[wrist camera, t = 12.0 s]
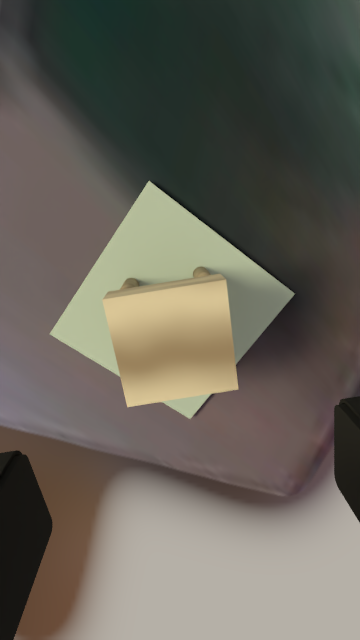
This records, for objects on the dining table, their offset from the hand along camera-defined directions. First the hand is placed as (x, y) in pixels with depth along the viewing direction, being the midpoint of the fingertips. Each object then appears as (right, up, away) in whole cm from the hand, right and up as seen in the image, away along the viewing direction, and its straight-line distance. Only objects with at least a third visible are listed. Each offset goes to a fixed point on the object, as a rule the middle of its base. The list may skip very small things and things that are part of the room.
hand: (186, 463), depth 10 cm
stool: (-1, +5, +16) cm, 17 cm away
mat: (-1, +5, +16) cm, 17 cm away
